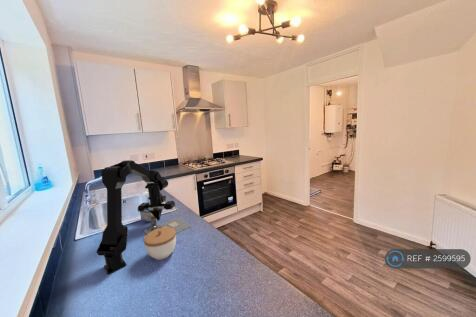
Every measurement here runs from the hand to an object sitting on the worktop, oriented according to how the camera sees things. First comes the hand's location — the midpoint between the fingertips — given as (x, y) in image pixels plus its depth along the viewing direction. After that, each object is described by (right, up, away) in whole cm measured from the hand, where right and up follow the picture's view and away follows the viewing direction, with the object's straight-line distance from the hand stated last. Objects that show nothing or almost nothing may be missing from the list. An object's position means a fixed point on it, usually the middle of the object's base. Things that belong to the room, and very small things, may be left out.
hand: (159, 220), depth 108 cm
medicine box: (-9, -3, +8) cm, 13 cm away
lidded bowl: (+12, -7, -24) cm, 28 cm away
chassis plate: (+6, -4, -4) cm, 8 cm away
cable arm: (-1, -2, -5) cm, 5 cm away
